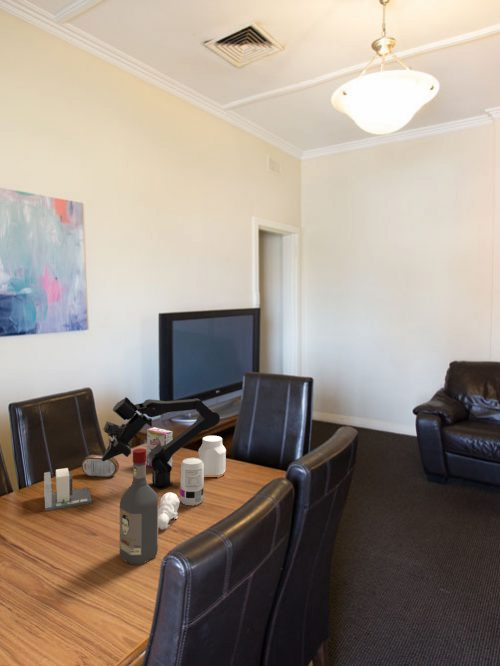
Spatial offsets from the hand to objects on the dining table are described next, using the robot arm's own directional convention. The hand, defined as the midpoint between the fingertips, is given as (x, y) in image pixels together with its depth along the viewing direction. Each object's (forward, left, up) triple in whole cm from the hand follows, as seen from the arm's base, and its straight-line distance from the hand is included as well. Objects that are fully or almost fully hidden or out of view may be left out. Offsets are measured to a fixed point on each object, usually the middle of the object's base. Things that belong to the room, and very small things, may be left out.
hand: (102, 460), depth 164 cm
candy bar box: (+2, -33, -13) cm, 35 cm away
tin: (+15, -12, -13) cm, 23 cm away
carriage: (+6, +12, -12) cm, 17 cm away
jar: (-21, -40, -13) cm, 47 cm away
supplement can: (-31, -14, -13) cm, 36 cm away
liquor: (-40, +21, -13) cm, 47 cm away
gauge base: (+6, +10, -13) cm, 17 cm away
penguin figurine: (-34, +3, -13) cm, 37 cm away
